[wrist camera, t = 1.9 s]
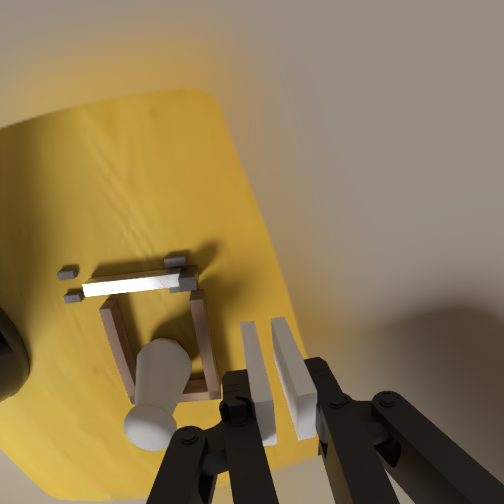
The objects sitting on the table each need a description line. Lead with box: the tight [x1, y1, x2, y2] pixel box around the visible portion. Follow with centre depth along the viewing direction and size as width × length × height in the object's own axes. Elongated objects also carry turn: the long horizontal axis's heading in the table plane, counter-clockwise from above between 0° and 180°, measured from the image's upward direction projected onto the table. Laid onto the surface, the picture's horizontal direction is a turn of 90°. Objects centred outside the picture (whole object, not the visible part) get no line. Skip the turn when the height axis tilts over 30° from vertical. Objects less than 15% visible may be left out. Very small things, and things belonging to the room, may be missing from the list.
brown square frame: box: [57, 255, 221, 404], centre depth 31 cm, size 15×16×2 cm
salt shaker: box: [124, 338, 192, 451], centre depth 27 cm, size 6×6×13 cm
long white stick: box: [83, 265, 199, 296], centre depth 29 cm, size 12×1×3 cm, turn 95°
